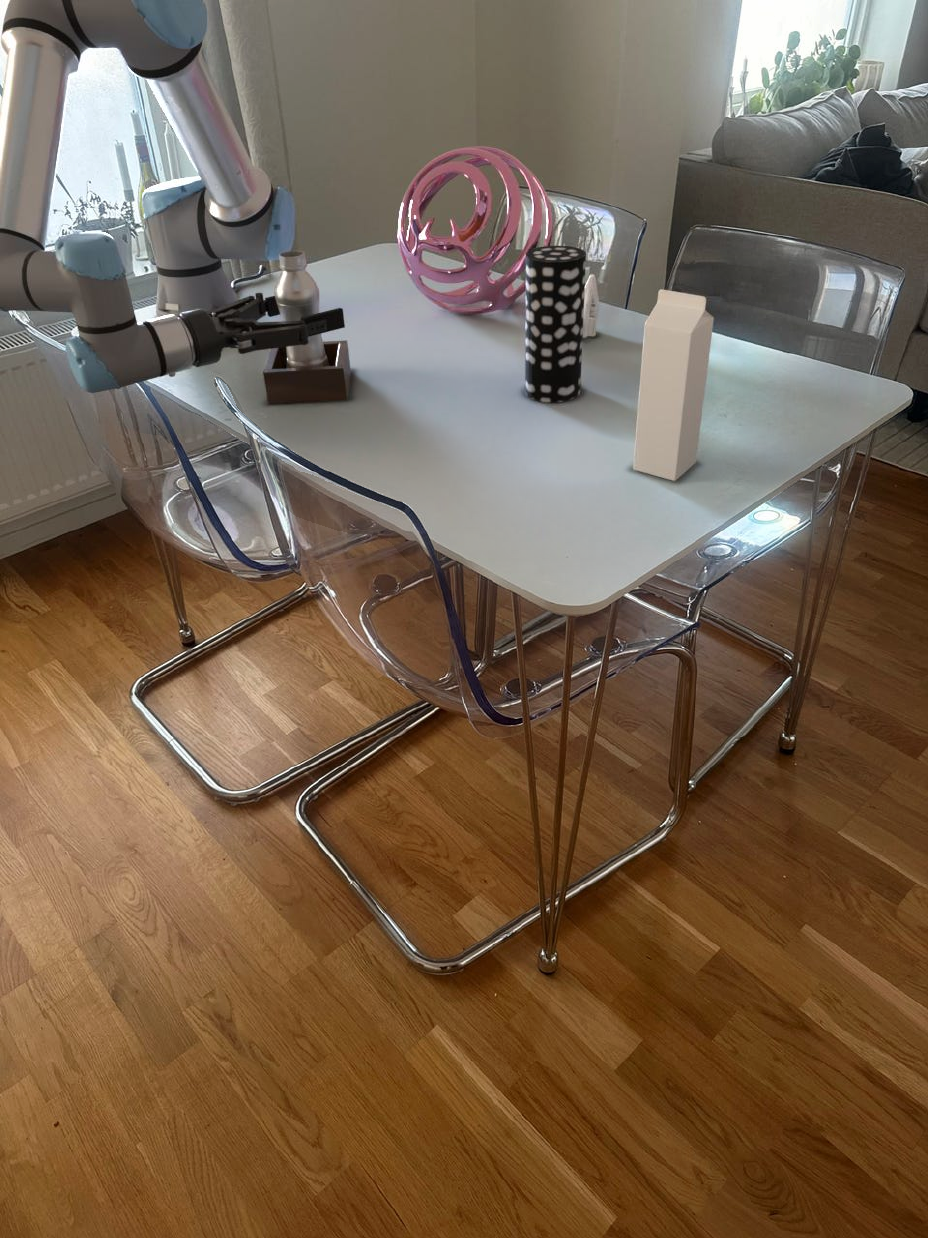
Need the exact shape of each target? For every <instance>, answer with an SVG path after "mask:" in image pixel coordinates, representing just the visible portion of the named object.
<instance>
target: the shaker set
mask: <svg viewBox="0 0 928 1238" xmlns="http://www.w3.org/2000/svg"><path fill="white" fill-rule="evenodd" d="M599 307H600V298H599V291H598V285H597V279H596V275H595V274H593V273H591V274H590V275H589V277H588V279H587V280H586V282H585V292H584V316H583V339H585V338H587V337H592V338H593V337H595V336H597V334H596V331H597V324H598V323H597V322H598V315H599Z"/></svg>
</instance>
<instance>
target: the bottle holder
mask: <svg viewBox="0 0 928 1238" xmlns="http://www.w3.org/2000/svg"><path fill="white" fill-rule="evenodd" d="M323 345H324V349H325V355H326V356H327V359H328V362H329V365H330V366H324V367H305V368H287V348H286V347H281V348H273V349H269V353H268V356H267V359H266V361H265V365H264V368H263V371H262V376H263V382H264V388H265V393H266V399H267V404H268V405H283V404H299V403H300V404H301V403H318V402H320V403H322V402H336V401H339V402H340V401H347V400H348V396H349V388H350V379H351V361H350V353H349V344H348V340H345V339H344V340H330V341H329V340H327V341H323Z"/></svg>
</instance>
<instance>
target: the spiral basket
mask: <svg viewBox="0 0 928 1238" xmlns="http://www.w3.org/2000/svg"><path fill="white" fill-rule="evenodd" d="M462 156H469V157H470V156H471V157H470V158H467V159H464V160H461V161H460V160H459V161H458V160H457V161H452V160H454V159H456V158H459V157H462ZM484 166H493V167H494V169H496V171H497V172H498V174H499V175H500V177H501V178H502V181H503V183H504V186H505V189H506V195H507V208H506V209H507V210H506V215H505V220H504V223H503V226H502V228H501V231H500V233H499V235H498V237H497V238H496V240H495V242H493V244H492V245H491V247H490V248H489V249H488V250H487V251H486V252H485V253H484V254H483V255H481V256H477V255H475V254H474V252H473V250H472V246H471V245H472V244H473V242H474V241H475V240H476V239H477V238H478V237H479V236H480V235H481V233H482V232H483V230H484V229H485V228H486V225H487V224H488V221H489V219H490V215H491V211H492V206H493V205H492V204H493V195H492V189H491V185H490V182H489V180H488V178H487V176H485V173H483V171H482V170H481V169H479V168H478V167H484ZM512 169H513V170H515V171H518V172H519V173H520V174H521V175H522V176H523V178H524V179H525V180H524V181H526V185H527V186H528V189H529V192H530V197H531V203H532V217H531V224H530V225H531V226H530V230H529V233H528V237H527V240H526V243H525V244H524V247H523V249H522V251H521V253H520V254H519V256H518V258H517V259H516V261H515V262H514V263H513V265H511V266H510V268H509V269H508V270H507V271H506V272H505V273H504V274H503V275H502V276H500V277H499V278H498V279H495V280H494V279H492V278H491V277H490V276H491V275H492V273H493V272H492V271H491V269H492V268H493V267H494V266H495V265H496V264H498V262H499V261H500V260H501V259H502V258H503V257H504V255H505V254H506V253H507V251H508V250H509V248H510V246H511V245H512V243H513V241H514V239H515V237H516V235H517V232H518V229H519V225H520V222H521V214H522V195H521V190H520V185H519V183H518V180H517V178H516V176H515V174H514V172H513V170H512ZM459 175H461V176H463V177H465V178H466V179H468V180H469V181H470V182H471V184H472V186H473V188H474V191H475V196H476V203H475V208H474V212H473V214H472V216H471V218H470V219H469V221H468V222H467V224H466V225H465V226H464V227H463V228H460V227H459V226H458V225H457V223H456V221H455V220H454V218H452V217H450V219H449V220H450V226H451V231H452V234H451V235H448V236H438V235H435V234H432V232H431V230H432V227H433V224H434V221H435V215H433V216H432V217H430V218H429V220H428V221H427V222H426V223H425V225H424V224H423V222H422V218H423V216H424V214H425V211H426V209H427V208H428V206H429V205H430V203H431V202H432V200H433V199H434V197H435V196H436V195H437V194H438V193H439V192H440V190H441V189H442V188H443V187H444V186H445V185H446V184H448V183H449V182H450V181H451V180H453V179H455V177H457V176H459ZM543 204H544V207H545V214H546V232H545V239H544V242H543V243H544V244H543V246H542V247H544V246H552V242H553V234H554V233H553V232H554V220H553V217H554V216H553V210H552V206H551V203H550V199H549V196H548V194H547V192H546V190H545V188H544V186H543V184H542V183H541V181H540V179H538V177H537V176H536V175H535V174H534V173H533V172H532V171H531V170H530V169H529V168H528V167H527V166H526V165H525V164H524V163H522V162H521V160H519V159H518V158H517V157H515V156H514V155H512V154H511V153H510V152H509V153H508V152H507V151H504V150H502V149H499V148H495V147H492V146H485V145H484V146H483V145H476V146H467V147H461V148H455V149H452V150H448V151H446V152H443V153H441V154H440V155H438V156H437V157H435V158H433V159H432V160H430V161H428V163H427V164H425V165H424V166H423V168H421V169H420V170H419V172H418V173H417V174H416V175H415V176H414V178H413V179H412V180H411V182H410V183H409V186H408V187H407V189H406V191H405V194H404V196H403V199H402V201H401V205H400V209H399V214H398V226H397V227H398V228H397V243H398V250H399V255H400V259H401V261H402V265H403V267H404V269H405V271H406V274H407V275H408V277H409V279H410V280H411V281H412V283H413V284H414V285H415V287H416V288H417V290H418V291H419V292H420V293H421V294H423V296H424V297H426V298H427V299H428V300H429V301H430V302H431V303H433V304H435V305H436V306H438V307H439V308H442V309H443V310H446V311H448V312H451V313H454V314H457V315H462V316H463V315H464V316H479V315H484V314H489V313H493V312H496V311H501V310H507V309H509V308H512V307H513V306H515V304H516V301H517V299H518V298H519V297H521V296H522V295H523V294H525V293H526V279H525V280H524V281H523V282H522V283H521V284H520V285H519V286H518V287H517V288H516V289H515V288H514V286H513V283H514V282H515V281H516V280H517V279H518V278H519V277H520V276H521V274H522V273H523V272H524V270H526V252H528V251H529V250H531V249H534V248H538V247H537V246H538V243H539V241H540V237H541V233H542V227H543V219H544V218H543V216H544V214H543ZM407 216H408V217H409V218H408V217H407ZM407 218H408V220H409V225H408V230H407V232H406V221H407ZM406 233H407V234H406ZM425 249H427V250H429V251H431V252H434V253H439V254H450V253H451V254H452V253H454V252H459V253H460V254H461V255H462V257H463V260H464V265H463V266H462V267H458V268H453V269H452V268H451V269H443V268H437V267H433V266H431V265H429V264H427V263H425V261H424V259H423V251H424V250H425ZM421 276H423V277H424V278H425V279H426V278H427V279H428V280H431V281H433V282H437V283H441V284H461V283H465V282H470V283H468V284H467V285H464V286H462V287H460V288H459V287H458V288H457V289H453V290H450V291H443V292H440V291H437V290H435V289H432V288H430V287H429V286H428V285H426V284H425V283H424V281H423V279H422V277H421ZM476 288H478V289H477V290H475V289H476ZM505 290H506V295H505V294H504V292H505ZM472 291H474V292H472ZM482 302H489V303H490V304H488V305H486V306H482V307H475V308H461V307H456V306H466V305H473V304H477V303H482ZM453 305H454V306H453ZM455 305H456V306H455Z"/></svg>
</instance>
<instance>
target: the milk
mask: <svg viewBox="0 0 928 1238" xmlns="http://www.w3.org/2000/svg"><path fill="white" fill-rule="evenodd" d="M706 306H707V297H706V296H703V295H698V294H692V293H687V292H679V291H675V290H668V289H663V288H661V289H659V290H658V292H657V301H656V304H655V306H654V307H653V309H652V311H651V313H650V314H649V316H648V318H647V319H646V320H645V323H644V327H643V328H644V329H643V343H642V353H641V354H642V355H641V364H640V365H641V366H640V379H639V390H638V391H639V392H638V402H637V414H636V415H637V416H636V417H637V418H636V428H635V429H636V430H635V440H634V441H635V442H634V451H633V452H634V454H633V464H632V469H633V470H634V471H637V472H640V473H644V474H648V475H652V476H655V477H658V478H663V479H665V480H669V481H673V482H676V481H678V479H680V478H681V477H682V476H683V475H684V474H685V473H686V472H687V471H688V470H690V469H691V468H692V467H693V466H694V465H695V464H696V463H697V458H698V457H697V456H698V449H699V448H698V447H699V439H700V431H701V424H702V418H703V417H702V416H703V408H704V401H705V392H706V384H707V377H708V368H709V360H710V352H711V346H712V345H711V344H712V338H713V337H712V335H713V330H714V329H713V328H714V321H715V318H714V316H713V315H712V314H710V313H709V312H708V311H707V310H706Z"/></svg>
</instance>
